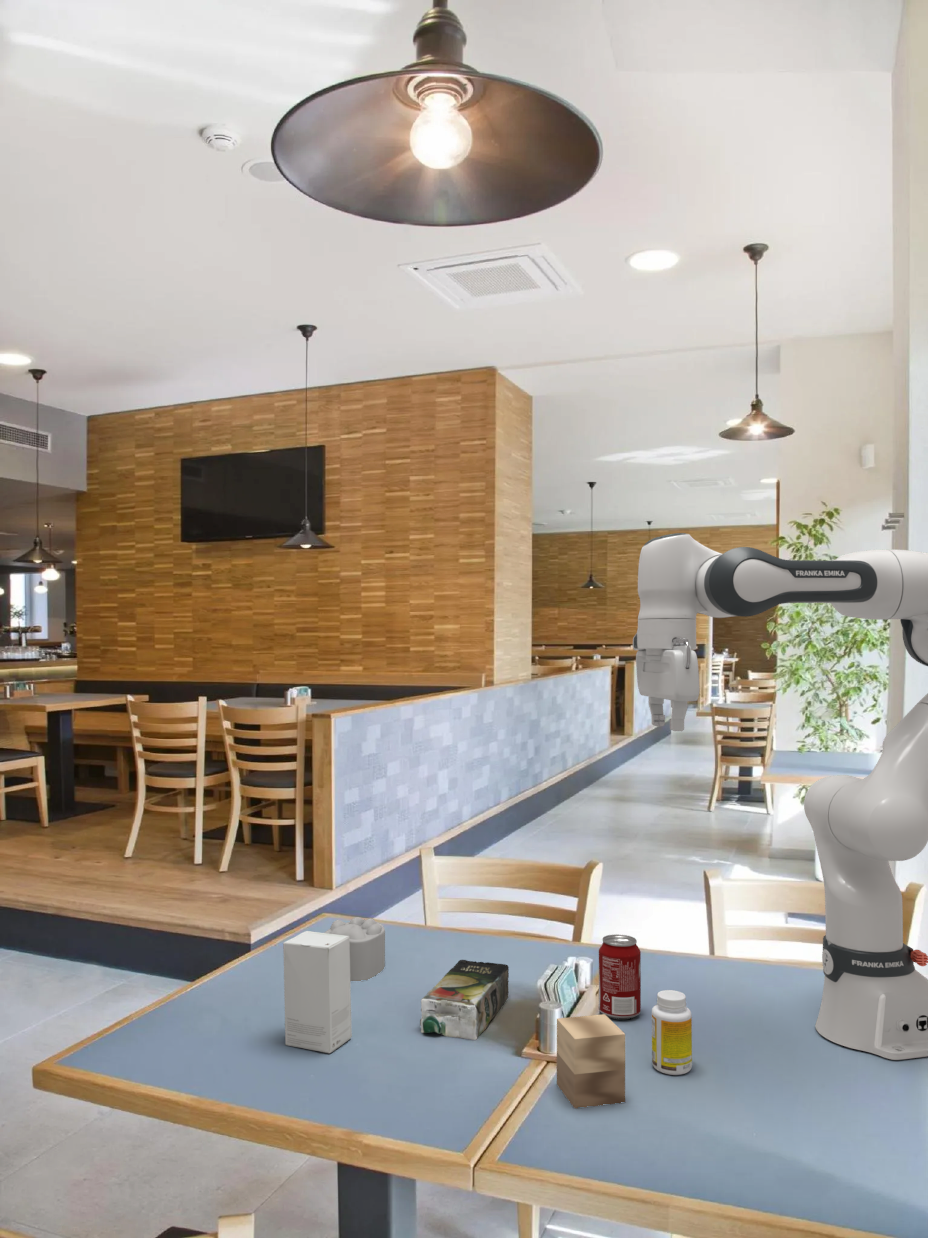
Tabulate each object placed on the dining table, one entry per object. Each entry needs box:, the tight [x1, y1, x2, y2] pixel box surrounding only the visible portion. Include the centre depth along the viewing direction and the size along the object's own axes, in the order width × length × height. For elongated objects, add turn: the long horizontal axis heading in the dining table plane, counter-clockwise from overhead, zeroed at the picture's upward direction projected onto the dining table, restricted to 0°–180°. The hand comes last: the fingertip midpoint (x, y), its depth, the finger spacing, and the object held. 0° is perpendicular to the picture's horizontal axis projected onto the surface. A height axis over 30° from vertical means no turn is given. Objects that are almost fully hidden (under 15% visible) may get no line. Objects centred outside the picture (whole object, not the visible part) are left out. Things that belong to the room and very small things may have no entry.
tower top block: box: [556, 1013, 626, 1074], centre depth 126 cm, size 7×7×4 cm
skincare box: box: [282, 930, 353, 1054], centre depth 141 cm, size 8×7×16 cm
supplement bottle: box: [651, 989, 693, 1076], centre depth 133 cm, size 6×6×10 cm
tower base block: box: [556, 1052, 626, 1109], centre depth 125 cm, size 7×7×4 cm
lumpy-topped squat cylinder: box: [323, 916, 386, 982], centre depth 174 cm, size 10×13×9 cm
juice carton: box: [419, 959, 510, 1041], centre depth 152 cm, size 20×10×6 cm, turn 162°
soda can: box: [598, 933, 642, 1021], centre depth 153 cm, size 7×7×12 cm
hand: (667, 728), depth 145 cm, fingers open, 8 cm apart
